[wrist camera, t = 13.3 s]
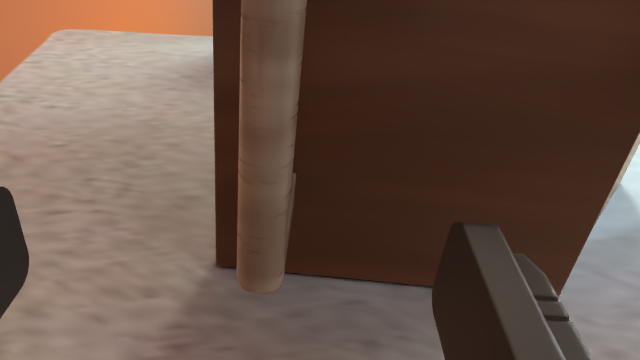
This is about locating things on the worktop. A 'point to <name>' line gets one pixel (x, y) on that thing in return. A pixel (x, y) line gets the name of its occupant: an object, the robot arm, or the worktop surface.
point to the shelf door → (416, 131)
